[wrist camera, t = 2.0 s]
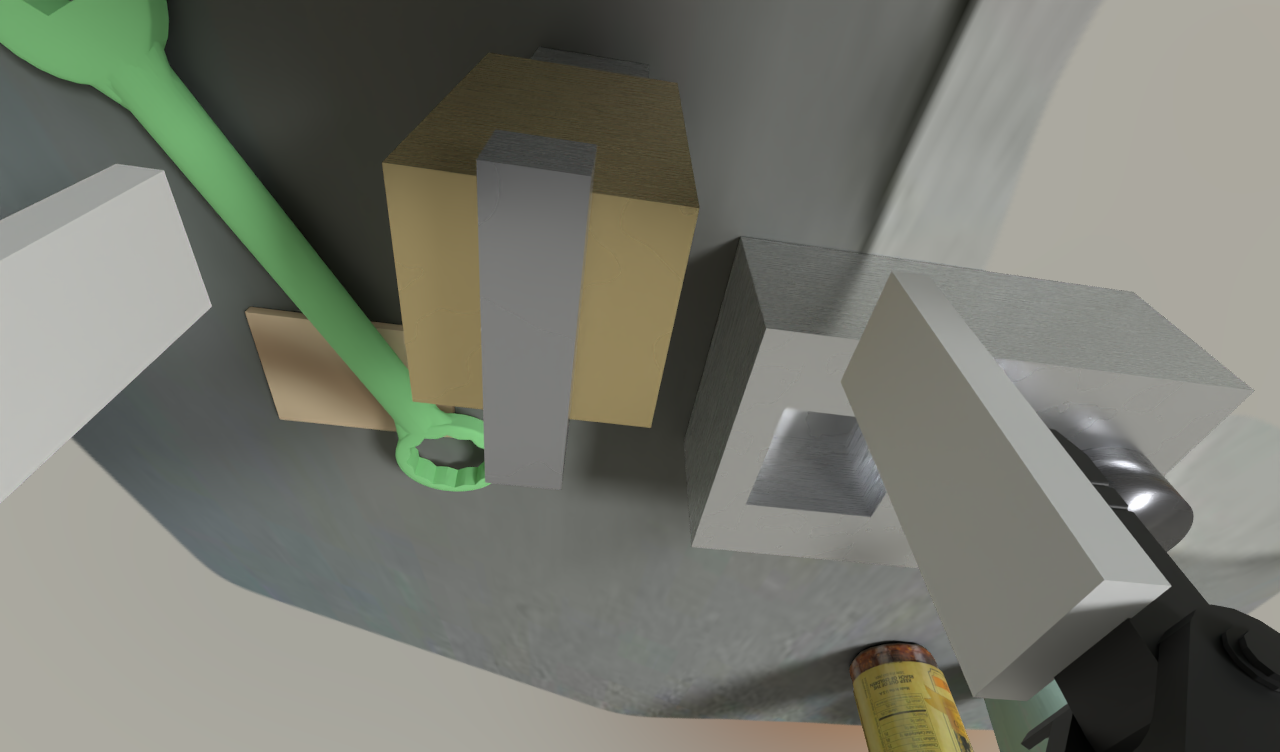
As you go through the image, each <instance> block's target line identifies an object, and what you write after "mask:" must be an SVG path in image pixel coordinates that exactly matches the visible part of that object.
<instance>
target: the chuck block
mask: <svg viewBox="0 0 1280 752" xmlns="http://www.w3.org/2000/svg"><path fill="white" fill-rule="evenodd" d="M891 271H896V272H903V273H911V274H918V275H925V276H930V278H931V279H932V280H933V281H934V283H935V284H936V285H937V286H938V288H939V289H940V290H941V292H942V293H943V294H944V295H945V297H946V298H947V299H948V301H949V302H950V303H951V304H952V306H953V307H954V308H955V310H956V311H957V312H958V313H959V315H960V316H961V317H962V318H963V320H964V321H965V322H966V324H967V325H968V326H969V327H970V329H971V330H972V331H973V333H974V334H975V335H976V336H977V338H978V339H979V340H980V342H981V343H982V344H983V345H984V347H985V348H986V349H987V350H988V352H989V353H990V354H991V356H992V357H993V358H994V359H995V361H996V362H997V363H998V365H999V366H1000V367H1001V368H1002V370H1003V371H1004V372H1005V373H1006V375H1007V376H1008V377H1009V379H1010V380H1011V381H1012V382H1013V384H1014V385H1015V386H1016V388H1017V389H1018V390H1019V391H1020V393H1021V394H1022V395H1023V397H1024V398H1025V399H1026V400H1027V402H1028V403H1029V404H1030V405H1031V407H1032V408H1033V409H1034V411H1035V412H1036V413H1037V414H1038V416H1039V417H1040V418H1041V420H1042V421H1043V422H1044V423H1045V425H1046V426H1047V427H1048V429H1055V430H1057V431H1058V432H1059V433H1060V434H1062V435H1063V436H1064V437H1065V438H1067V439H1068V440H1069V441H1070V442H1072V443H1073V444H1074V445H1075V446H1077V447H1078V448H1079V449H1080V450H1082V451H1083V452H1084V453H1085V454H1087V455H1088V457H1089V458H1090V459H1091V460H1092V462H1093V463H1094V464H1095V465H1096V467H1097V468H1098V469H1099V470H1100V471H1101V473H1102V474H1103V475H1104V476H1105V478H1106V479H1107V480H1108V481H1109V488H1114V489H1115V490H1116V491H1117V492H1118V494H1119V495H1120V496H1121V497H1122V498H1123V500H1124V501H1125V502H1126V503H1127V505H1128V511H1131V512H1134V513H1135V514H1136V516H1137V517H1138V518H1139V519H1140V521H1141V522H1142V523H1143V524H1144V525H1145V527H1146V528H1147V529H1148V530H1149V532H1150V533H1151V534H1152V535H1153V537H1154V538H1155V539H1156V540H1157V541H1158V543H1159V544H1160V545H1161V546H1162V548H1163V549H1164V550H1165V551H1166V552H1167V551H1169V550H1170V549H1171V548H1173V547H1174V546H1175V545H1176V544H1178V543H1179V542H1180V541H1181V540H1182V539H1183V538H1184V537H1185V535H1186V534H1187V533H1188V531H1189V530H1190V528H1191V525H1192V523H1193V511H1192V509H1191V507H1190V506H1189V504H1188V503H1187V502H1186V501H1185V500H1184V499H1183V498H1182V497H1181V495H1180V494H1179V493H1178V492H1177V491H1176V490H1175V489H1174V488H1173V486H1172V485H1171V484H1170V483H1169V482H1168V481H1167V480H1166V479H1165V477H1164V476H1165V475H1166V474H1167V473H1168V472H1169V471H1170V470H1171V469H1172V468H1173V467H1174V466H1175V465H1176V464H1177V463H1178V462H1179V461H1180V460H1182V459H1183V458H1184V457H1185V456H1186V455H1187V454H1188V453H1189V452H1190V451H1191V450H1192V449H1193V448H1194V447H1195V446H1196V445H1197V444H1199V443H1200V442H1201V441H1202V440H1203V439H1204V438H1205V437H1206V436H1207V435H1208V434H1209V433H1210V432H1211V431H1212V430H1213V429H1215V428H1216V427H1217V426H1218V425H1219V424H1220V423H1221V422H1222V421H1223V420H1224V419H1225V418H1226V417H1227V416H1228V415H1229V414H1230V413H1232V412H1233V411H1234V410H1235V409H1236V408H1237V407H1238V406H1239V405H1240V404H1241V403H1242V402H1243V401H1244V400H1245V399H1246V398H1247V397H1248V396H1250V395H1251V394H1252V393H1253V392H1254V390H1253V389H1252V388H1251V387H1249V386H1248V385H1247V384H1246V383H1245V382H1243V381H1242V380H1241V379H1240V378H1238V377H1237V376H1236V375H1235V374H1233V373H1232V372H1231V371H1230V370H1229V369H1227V368H1226V367H1225V366H1224V365H1222V364H1221V363H1220V362H1219V361H1218V360H1216V359H1215V358H1214V357H1213V356H1211V355H1210V354H1209V353H1208V352H1206V351H1205V350H1204V349H1203V348H1202V347H1200V346H1199V345H1198V344H1197V343H1195V342H1194V341H1193V340H1192V339H1191V338H1189V337H1188V336H1187V335H1186V334H1184V333H1183V332H1182V331H1181V330H1179V329H1178V328H1177V327H1176V326H1175V325H1173V324H1172V323H1171V322H1170V321H1168V320H1167V319H1166V318H1165V317H1164V316H1162V315H1161V314H1160V313H1159V312H1157V311H1156V310H1155V309H1154V308H1153V307H1151V306H1150V305H1149V304H1148V303H1146V302H1145V301H1144V300H1143V299H1141V298H1140V297H1139V296H1138V295H1137V294H1135V293H1134V292H1129V291H1122V290H1115V289H1108V288H1100V287H1093V286H1087V285H1080V284H1073V283H1065V282H1058V281H1051V280H1043V279H1037V278H1029V277H1023V276H1016V275H1009V274H1001V273H994V272H988V271H981V270H974V269H967V268H959V267H952V266H945V265H938V264H931V263H924V262H917V261H910V260H903V259H896V258H889V257H882V256H875V255H868V254H860V253H853V252H846V251H839V250H832V249H825V248H818V247H811V246H804V245H797V244H790V243H783V242H776V241H769V240H761V239H754V238H747V237H740V241H739V245H738V248H737V252H736V255H735V259H734V263H733V266H732V270H731V273H730V277H729V281H728V284H727V288H726V292H725V295H724V299H723V302H722V306H721V310H720V313H719V317H718V320H717V324H716V328H715V331H714V335H713V338H712V342H711V346H710V349H709V353H708V357H707V360H706V364H705V367H704V371H703V375H702V378H701V382H700V385H699V389H698V393H697V396H696V400H695V403H694V407H693V411H692V414H691V418H690V422H689V425H688V429H687V432H686V436H685V440H684V451H685V465H686V479H687V493H688V507H689V521H690V535H691V547H698V548H709V549H720V550H730V551H741V552H752V553H762V554H773V555H784V556H795V557H805V558H816V559H827V560H837V561H848V562H859V563H869V564H880V565H891V566H902V567H912V568H919V567H918V565H917V562H916V560H915V558H914V555H913V553H912V550H911V548H910V546H909V543H908V541H907V539H906V536H905V534H904V531H903V529H902V527H901V524H900V522H899V520H898V517H897V515H896V512H895V510H894V508H893V505H892V503H891V501H890V498H889V496H888V493H887V491H886V489H885V486H884V484H883V482H882V479H881V477H880V474H879V472H878V470H877V467H876V465H875V462H874V460H873V458H872V455H871V453H870V451H869V448H868V446H867V443H866V441H865V439H864V436H863V434H862V432H861V429H860V427H859V424H858V422H857V420H856V417H855V415H854V413H853V410H852V408H851V405H850V403H849V401H848V398H847V396H846V394H845V391H844V389H843V386H842V384H841V379H842V377H843V375H844V373H845V371H846V369H847V366H848V364H849V362H850V360H851V358H852V356H853V353H854V351H855V349H856V347H857V345H858V343H859V340H860V338H861V336H862V334H863V332H864V330H865V327H866V325H867V323H868V321H869V319H870V317H871V314H872V312H873V310H874V308H875V306H876V304H877V301H878V299H879V297H880V295H881V293H882V291H883V288H884V286H885V284H886V282H887V280H888V278H889V275H890V273H891Z"/></svg>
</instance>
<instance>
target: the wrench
mask: <svg viewBox="0 0 1280 752" xmlns="http://www.w3.org/2000/svg"><path fill="white" fill-rule="evenodd" d="M168 28H169V16H168V8H167V1H166V0H73V1H69V0H0V43H2V44H3V45H4V46H5V47H7V48H8V49H9V50H11V51H12V52H13V53H14V54H16V55H17V56H19V57H20V58H22V59H24V60H25V61H27V62H28V63H30V64H32V65H33V66H35V67H37V68H38V69H40V70H42V71H45V72H47V73H49V74H51V75H54V76H56V77H58V78H61V79H64V80H68V81H71V82H75V83H78V84H87V85H91V86H93V87H94V88H96V89H97V90H99V91H101V92H102V93H104V94H105V95H107V96H108V97H110V98H111V99H113V100H114V101H116V102H117V103H119V104H120V105H122V106H124V107H125V108H127V109H128V110H130V111H131V112H132V114H133V115H134V116H135V117H136V118H137V119H138V121H139V122H140V123H141V124H142V125H143V127H144V128H145V129H146V130H147V131H148V132H149V134H150V135H151V136H152V137H153V138H154V139H155V141H156V142H157V143H158V144H159V145H160V146H161V148H162V149H163V150H164V151H165V152H166V153H167V155H168V156H169V157H170V158H171V159H172V160H173V162H174V163H175V164H176V165H177V166H178V168H179V169H180V170H181V171H182V172H183V173H184V175H185V176H186V177H187V178H188V179H189V180H190V182H191V183H192V184H193V185H194V186H195V187H196V189H197V190H198V191H199V192H200V193H201V194H202V196H203V197H204V198H205V199H206V200H207V201H208V203H209V204H210V205H211V206H212V207H213V209H214V210H215V211H216V212H217V213H218V214H219V216H220V217H221V218H222V219H223V220H224V221H225V223H226V224H227V225H228V226H229V227H230V228H231V230H232V231H233V232H234V233H235V234H236V235H237V237H238V238H239V239H240V240H241V241H242V242H243V244H244V245H245V246H246V247H247V248H248V249H249V251H250V252H251V253H252V254H253V255H254V257H255V258H256V259H257V260H258V261H259V262H260V264H261V265H262V266H263V267H264V268H265V269H266V271H267V272H268V273H269V274H270V275H271V276H272V278H273V279H274V280H275V281H276V282H277V283H278V285H279V286H280V287H281V288H282V289H283V290H284V292H285V293H286V294H287V295H288V296H289V298H290V299H291V300H292V301H293V302H294V303H295V305H296V306H297V307H298V308H299V309H300V310H301V312H302V313H303V314H304V315H305V316H306V317H307V319H308V320H309V321H310V322H311V323H312V324H313V326H314V327H315V328H316V329H317V330H318V331H319V333H320V334H321V335H322V336H323V337H324V339H325V340H326V341H327V342H328V343H329V344H330V346H331V347H332V348H333V349H334V350H335V351H336V353H337V354H338V355H339V356H340V357H341V358H342V360H343V361H344V362H345V363H346V364H347V365H348V367H349V368H350V369H351V370H352V371H353V372H354V374H355V375H356V376H357V377H358V378H359V380H360V381H361V382H362V383H363V384H364V385H365V387H366V388H367V389H368V390H369V391H370V392H371V394H372V395H373V396H374V397H375V398H376V399H377V401H378V402H379V403H380V404H381V405H382V406H383V408H384V409H385V410H386V411H387V412H388V413H389V415H390V416H391V417H392V418H393V419H394V422H395V426H396V430H397V434H398V438H399V440H398V443H397V447H396V455H395V457H396V460H397V463H398V465H399V467H400V468H401V470H402V471H403V472H404V473H405V474H406V475H407V476H409V477H410V478H412V479H413V480H415V481H416V482H418V483H420V484H423V485H425V486H428V487H431V488H435V489H439V490H445V491H470V490H475V489H479V488H482V487H485V486H487V485H490V484H491V483H485V461H484V462H482V464H481V465H480V466H479V467H466V468H463V469H460V470H456V469H453V468H450V467H444V466H436V465H434V464H433V463H432V462H431V461H430V460H427V459H424V458H421V457H419V453H418V450H417V449H416V448H415V446H418V445H420V443H421V442H422V441H423V440H424V438H426V439H438V438H441V437H444V436H447V435H448V436H450V437H453V438H456V439H458V440H472V441H473V442H474V443H475V444H476V445H477V446H478V447H480V448H483V449H484V424H483V421H482V420H480V419H477V418H475V417H471V416H467V415H463V414H456V413H445V412H443V411H441V410H440V409H439V408H438V407H437V406H436V404H429V403H420V402H413V401H412V393H411V385H410V377H409V370H408V369H407V367H406V366H405V365H404V364H403V362H402V361H401V360H400V358H399V357H398V356H397V355H396V353H395V352H394V351H393V350H392V348H391V347H390V346H389V344H388V343H387V342H386V341H385V339H384V338H383V337H382V336H381V334H380V333H379V332H378V330H377V329H376V328H375V327H374V325H373V324H372V323H371V321H370V320H369V319H368V318H367V316H366V315H365V314H364V313H363V311H362V310H361V309H360V307H359V306H358V305H357V304H356V302H355V301H354V300H353V299H352V297H351V296H350V295H349V293H348V292H347V291H346V290H345V288H344V287H343V286H342V285H341V283H340V282H339V281H338V279H337V278H336V277H335V276H334V274H333V273H332V272H331V271H330V269H329V268H328V267H327V265H326V264H325V263H324V262H323V260H322V259H321V258H320V257H319V255H318V254H317V253H316V251H315V250H314V249H313V248H312V246H311V245H310V244H309V243H308V241H307V240H306V239H305V237H304V236H303V235H302V234H301V232H300V231H299V230H298V229H297V227H296V226H295V225H294V223H293V222H292V221H291V220H290V218H289V217H288V216H287V214H286V213H285V212H284V211H283V209H282V208H281V207H280V206H279V204H278V203H277V202H276V200H275V199H274V198H273V197H272V195H271V194H270V193H269V192H268V190H267V189H266V188H265V186H264V185H263V184H262V183H261V181H260V180H259V179H258V178H257V176H256V175H255V174H254V172H253V171H252V170H251V169H250V167H249V166H248V165H247V164H246V162H245V161H244V160H243V158H242V157H241V156H240V155H239V153H238V152H237V151H236V150H235V148H234V147H233V146H232V144H231V143H230V142H229V141H228V139H227V138H226V137H225V136H224V134H223V133H222V132H221V130H220V129H219V128H218V127H217V125H216V124H215V123H214V122H213V120H212V119H211V118H210V116H209V115H208V114H207V113H206V111H205V110H204V109H203V107H202V106H201V105H200V104H199V102H198V101H197V100H196V99H195V97H194V96H193V95H192V93H191V92H190V91H189V90H188V88H187V87H186V86H185V85H184V83H183V82H182V81H181V79H180V78H179V77H178V76H177V74H176V73H175V72H174V71H173V69H172V68H171V67H170V65H169V62H168V60H167V57H166V54H165V51H164V48H165V45H166V42H167V39H168Z"/></svg>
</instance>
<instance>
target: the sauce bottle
mask: <svg viewBox="0 0 1280 752" xmlns="http://www.w3.org/2000/svg"><path fill="white" fill-rule="evenodd" d="M849 670H850V676H851V679H852V682H853V688H854V691H853V692H854V696H855V700H856V704H857V708H858V712H859V716H860V720H861V724H862V728H863V731H864V735H865V739H866V742H867V747H868V750H869V752H974V751H973V748H972V746H971V743H970V741H969V738H968V735H967V733H966V730H965V728H964V725H963V723H962V720H961V718H960V715H959V712H958V710H957V707H956V705H955V702H954V700H953V697H952V695H951V692H950V689H949V687H948V684H947V682H946V679H945V677H944V675H943V673H942V672H941V670H939V669H938V665H937V663H936V662H935V659H934V658H933V656H932V655H931V653H930V652H928V651H927V649H926V648H924V647H923V646H921V645H917V644H904V643H894V644H885V645H880V646H875V647H870V648H868V649H866V650H863V651H861V653H860V654H859V655H857V657H856V658H855V659H854V661H853V662H852V664H851V665H850V669H849Z"/></svg>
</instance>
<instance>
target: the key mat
mask: <svg viewBox="0 0 1280 752" xmlns="http://www.w3.org/2000/svg"><path fill="white" fill-rule="evenodd" d="M245 314H246V317H247V320H248V323H249V326H250V329H251V332H252V335H253V338H254V341H255V344H256V348H257V351H258V354H259V357H260V360H261V363H262V366H263V369H264V372H265V375H266V378H267V381H268V384H269V387H270V390H271V393H272V396H273V400H274V403H275V406H276V409H277V412H278V415H279V418H280V419H282V420H292V421H301V422H310V423H320V424H329V425H339V426H348V427H357V428H367V429H376V430H386V431H395V432H397V430H396V426H395V422H394V419H393V418H392V417H391V416H390V415H389V413H388V412H387V411H386V410H385V409H384V408H383V406H382V405H381V404H380V403H379V402H378V401H377V399H376V398H375V397H374V396H373V395H372V394H371V392H370V391H369V390H368V389H367V388H366V387H365V385H364V384H363V383H362V382H361V381H360V380H359V378H358V377H357V376H356V375H355V374H354V372H353V371H352V370H351V369H350V368H349V367H348V365H347V364H346V363H345V362H344V361H343V360H342V358H341V357H340V356H339V355H338V354H337V353H336V351H335V350H334V349H333V348H332V347H331V346H330V344H329V343H328V342H327V341H326V340H325V339H324V337H323V336H322V335H321V334H320V333H319V331H318V330H317V329H316V328H315V327H314V326H313V324H312V323H311V322H310V321H309V320H308V319H307V317H306V316H305V315H304V314H303V313H298V312H290V311H281V310H273V309H265V308H257V307H249V308H248V309H247V310H246V311H245ZM371 323H372V324H373V325H374V327H375V328H376V329H377V330H378V332H379V333H380V334H381V336H382V337H383V338H384V339H385V341H386V342H387V343H388V344H389V346H390V347H391V348H392V350H393V351H394V352H395V353H396V355H397V356H398V357H399V358H400V360H401V361H402V362H403V364H404V365H405V366H406V367H407V369H408V362H407V354H406V346H405V338H404V330H403V325H396V324H388V323H380V322H372V321H371ZM408 370H409V369H408ZM436 406H437V407H438V408H439V409H440V410H441V411H443V412H445V413H455V406H448V405H439V404H436ZM444 437H450V436H448V435H447V436H444ZM452 438H453V437H452Z"/></svg>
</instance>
